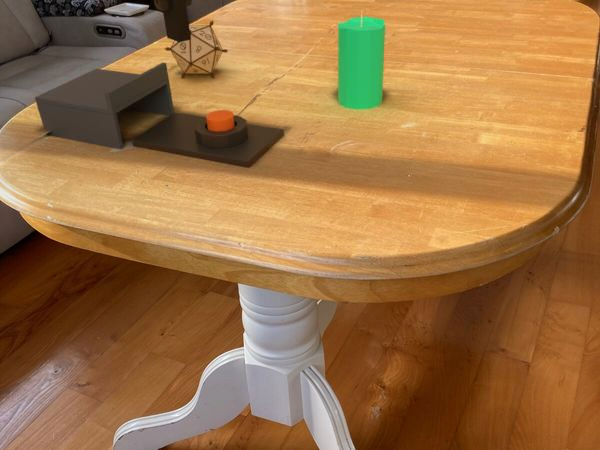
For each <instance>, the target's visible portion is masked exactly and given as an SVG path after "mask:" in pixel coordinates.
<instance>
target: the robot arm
mask: <svg viewBox="0 0 600 450" xmlns="http://www.w3.org/2000/svg"><path fill="white" fill-rule="evenodd" d="M192 2H193V0H153V3H154V6H155V8H156V10H159V11H161V12H162V14H163V20H164V26H165V32H166V33H165V34H166V38H167V39H169V40H172V41H173V42H174V41H177V42H183V41H187V40H191V35H190V28H189V25H190V23H189V15H188V8H187V7H189V6H192Z"/></svg>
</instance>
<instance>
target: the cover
mask: <svg viewBox="0 0 600 450" xmlns="http://www.w3.org/2000/svg"><path fill="white" fill-rule="evenodd" d="M34 101H35V104H36V107H37V109H38V113H39V117H40V121H41V123H42V127H43V130H45V131H49V132H47V133H45V136H47V137H54V138H58V139H59V138H60V139H65V140H70V141H75V142H78V143H79V142H80V143H85V144H90V145H95V146H100V147H105V148H111V149H116V150H123V149H124V148H125V146H124V141H123V136H122V132H121V128H120V124H119V119H118V115H117V113H119V112H121V111H123V110H124V109H125V110H131V111H139V112H144V113H151V114H156V115H162V116H167V117H168V116H170V115H171V114H173V113H174V112H175V108H174V103H173V102H174V101H173V97H172V89H171V85H170V79H169V71H168V66H167V63H166V62H160V63H159V64H157V65H155V66H153V67H151V68H149V69H148V70H147V69H146V71H143V72H142V73H140V74H139V73H131V72H125V71H117V70H111V69H109V70H108V69H101V68H95V69H92V70H90V71H87V72H86V73H84V74H82V75H80V76H77V77H75V78H73V79H71V80H68V81H67V82H65V83H62V84H60V85H58V86H56V87H54V88H52V89H50V90H48V91H46V92H43V93H41V94H39V95H36V96H35V97H34Z"/></svg>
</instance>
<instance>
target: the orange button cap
mask: <svg viewBox="0 0 600 450" xmlns="http://www.w3.org/2000/svg"><path fill="white" fill-rule="evenodd" d="M234 115H235V114H234V113H233V111H231V110H227V109H217V110H213V111H210V112H208V113H207V114H206V116H205V117H206V120H207V127H208V130H209V131H215V132H218V131H227V130H230V129H233V128H234V127H235V124H234Z"/></svg>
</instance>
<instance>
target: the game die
mask: <svg viewBox="0 0 600 450" xmlns="http://www.w3.org/2000/svg"><path fill="white" fill-rule="evenodd" d="M213 25H214V20H211V21H209V24H207V25H206V24H204V25H202V24H201V25H200V24H199V25H193V24H192V25H191V24H189V28H190V35H191V40H187V41H183V42H177V41H174V40H173V42H172V44H171V46H170V47H169V46H168V47H167V46H166V47H165V48H164V50H165V51H166V52H167V51H168V52H171V54H172V56H173V58H174V59H175V61H176V63H177V64H178V65H179V66H178V67H179V68H180V70H181V71H182V74H181V75H180V76H181V77H180V78H181V79H184V78H185V77H186V75H210V77H211V78H213V79H216V75H215V74H214V71H215V69H216V66H217V64H218V62H220V59H221V57H222V55H223V53H228V52H229V50H228V49H226V48H223V47H222V44H221V43H220V40H219V39H218V37H217V35H216V33H215V32H214V29H213V27H212V26H213Z"/></svg>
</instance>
